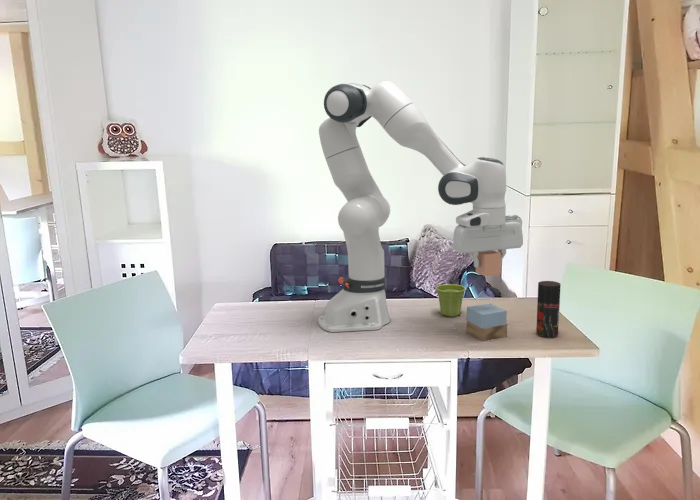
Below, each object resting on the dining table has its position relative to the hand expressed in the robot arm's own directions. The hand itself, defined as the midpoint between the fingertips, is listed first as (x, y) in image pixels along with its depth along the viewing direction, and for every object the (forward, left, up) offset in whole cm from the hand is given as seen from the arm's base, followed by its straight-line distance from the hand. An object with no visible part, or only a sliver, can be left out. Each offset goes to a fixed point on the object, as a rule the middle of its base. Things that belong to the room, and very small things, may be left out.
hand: (487, 265), depth 164 cm
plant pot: (-1, +21, -20) cm, 29 cm away
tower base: (0, 0, -20) cm, 21 cm away
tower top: (0, 0, -16) cm, 17 cm away
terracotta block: (0, 0, -2) cm, 2 cm away
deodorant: (+16, -6, -20) cm, 27 cm away
